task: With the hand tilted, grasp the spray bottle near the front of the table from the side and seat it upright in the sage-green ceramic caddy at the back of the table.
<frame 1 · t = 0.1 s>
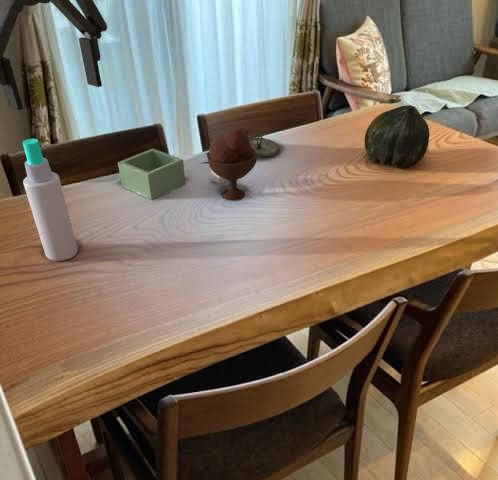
hand: (57, 96, 80), 31 cm above the table, tool pointing down, fingers open, 13 cm apart
spray bottle: (62, 254, 104), on the table
squash: (393, 163, 133), on the table
lid: (259, 153, 140), on the table
caddy: (153, 185, 126), on the table
ice cream bowl: (233, 195, 121), on the table
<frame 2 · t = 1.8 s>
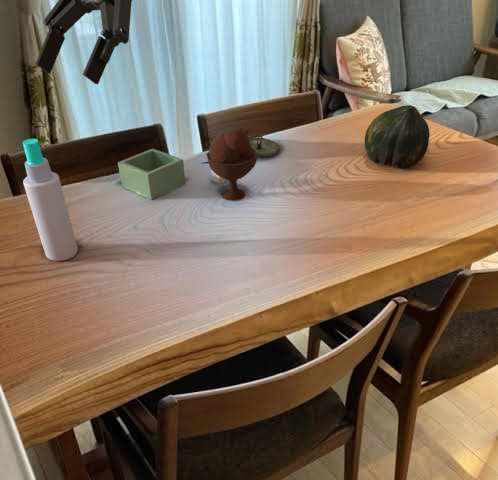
hand: (65, 74, 90), 30 cm above the table, tool tilted 45°, fingers open, 13 cm apart
nothing on the table moved.
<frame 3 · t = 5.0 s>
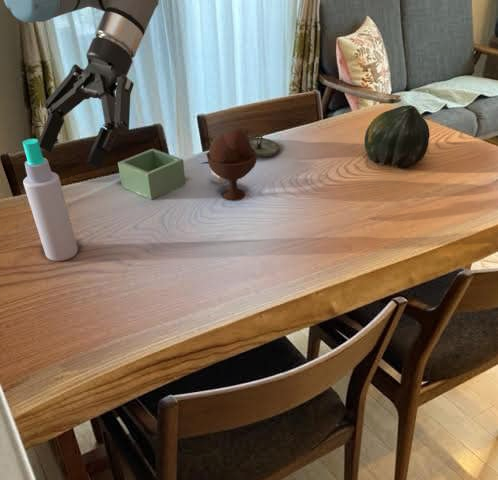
hand: (67, 157, 97), 17 cm above the table, tool tilted 45°, fingers open, 13 cm apart
nothing on the table moved.
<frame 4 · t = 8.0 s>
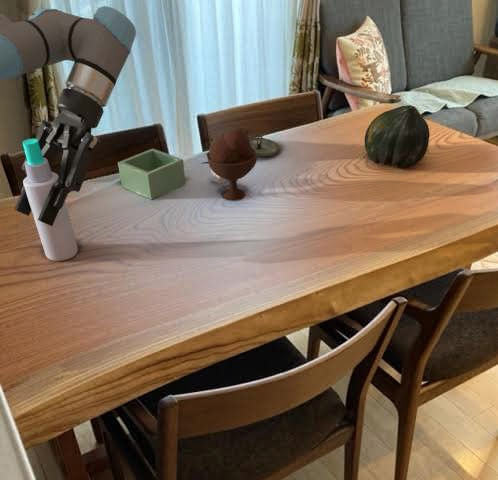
hand: (33, 217, 96), 9 cm above the table, tool tilted 45°, fingers closed on spray bottle, 6 cm apart
spray bottle: (62, 254, 104), on the table, touching gripper
everything else where it was.
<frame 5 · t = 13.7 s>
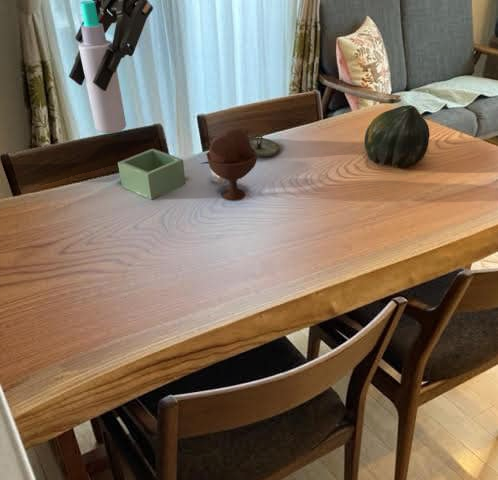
hand: (87, 83, 99), 26 cm above the table, tool tilted 45°, fingers closed on spray bottle, 6 cm apart
spray bottle: (111, 129, 108), point 17 cm above the table, touching gripper
everything else where it was.
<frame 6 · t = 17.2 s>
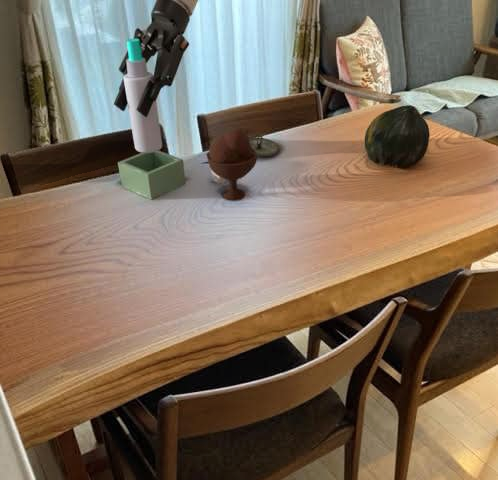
hand: (130, 110, 112), 18 cm above the table, tool tilted 45°, fingers closed on spray bottle, 6 cm apart
spray bottle: (149, 149, 121), point 9 cm above the table, touching gripper
everything else where it was.
when the fingers open (10 cm above the table, at t = 19.8 s): spray bottle stays where it is, resting on caddy.
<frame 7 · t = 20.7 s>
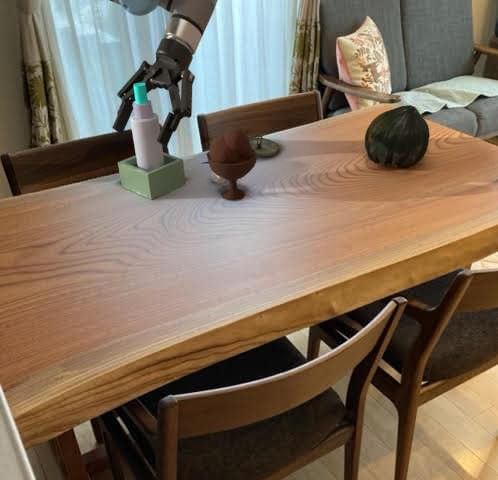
hand: (138, 137, 117), 12 cm above the table, tool tilted 45°, fingers open, 13 cm apart
spray bottle: (153, 184, 126), resting on caddy
everything else where it was.
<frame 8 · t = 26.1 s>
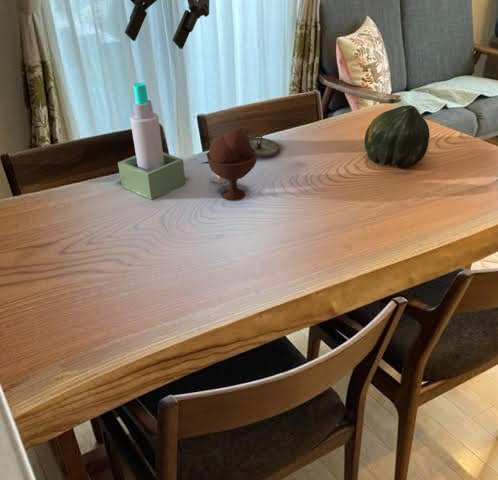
hand: (152, 40, 111), 30 cm above the table, tool tilted 45°, fingers open, 13 cm apart
nothing on the table moved.
at the end: spray bottle 0.1 cm off-centre in the caddy, point 0.3 cm above the caddy's base; spray bottle tilted 0°; the gripper is holding nothing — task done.
